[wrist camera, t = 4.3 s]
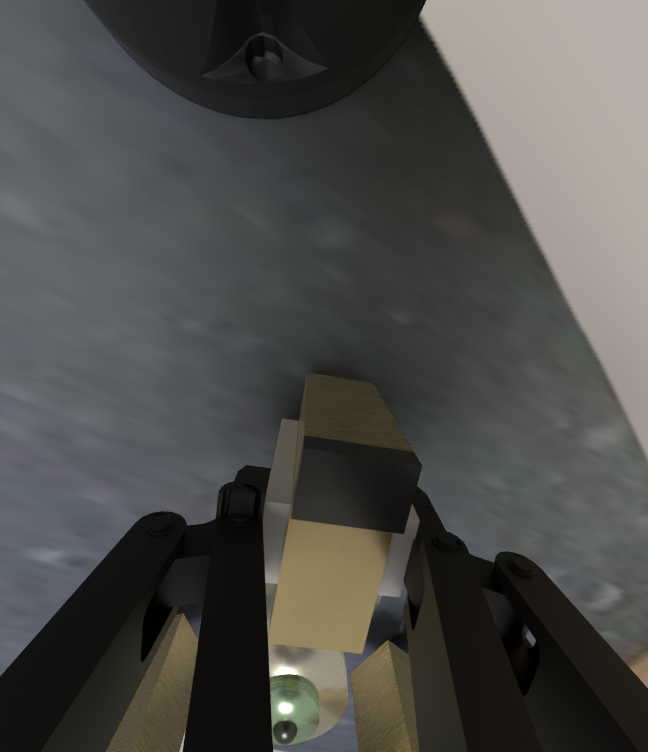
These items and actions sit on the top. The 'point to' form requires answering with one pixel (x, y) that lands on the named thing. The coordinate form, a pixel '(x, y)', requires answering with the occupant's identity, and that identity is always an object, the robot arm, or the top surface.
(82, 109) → the top surface
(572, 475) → the top surface
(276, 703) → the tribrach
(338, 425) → the gold angular block
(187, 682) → the brass wedge block
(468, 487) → the top surface
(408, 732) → the brass angular block
